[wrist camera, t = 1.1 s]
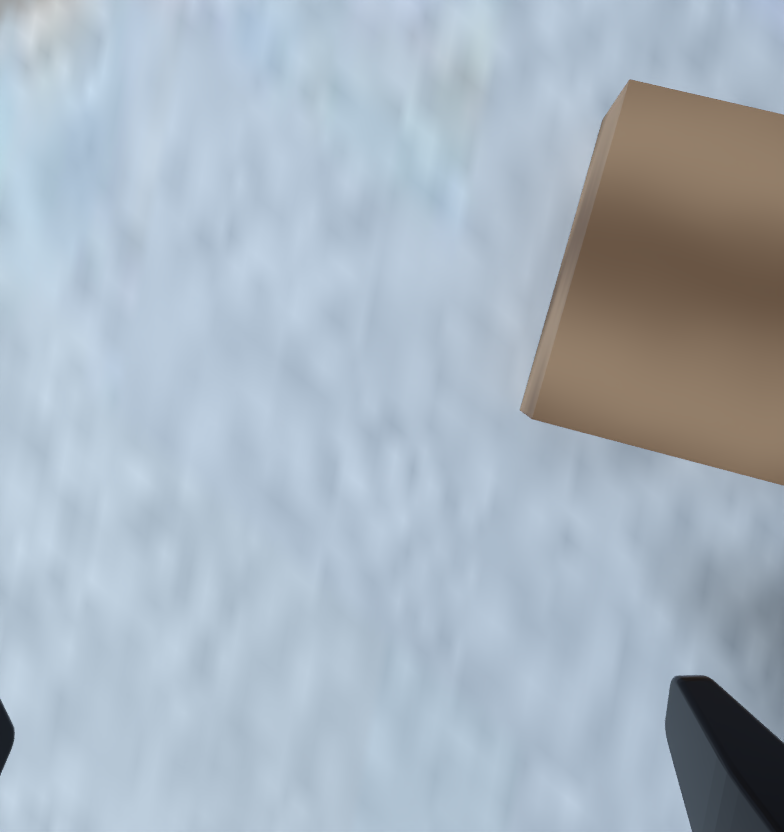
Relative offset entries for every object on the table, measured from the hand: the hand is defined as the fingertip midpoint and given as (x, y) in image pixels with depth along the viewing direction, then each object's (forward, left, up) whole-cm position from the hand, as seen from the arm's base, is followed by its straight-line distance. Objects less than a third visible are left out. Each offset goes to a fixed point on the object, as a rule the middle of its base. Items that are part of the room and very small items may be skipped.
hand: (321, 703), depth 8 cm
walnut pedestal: (-1, -12, -14) cm, 19 cm away
